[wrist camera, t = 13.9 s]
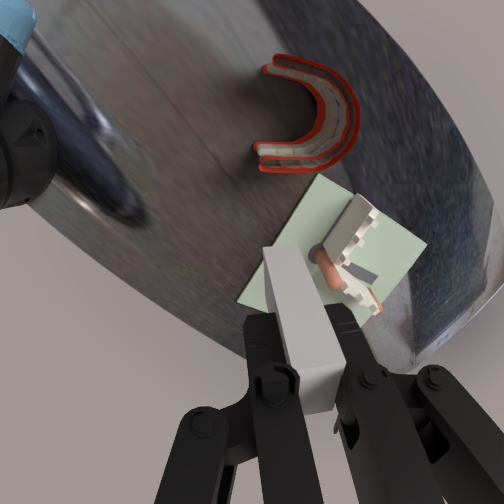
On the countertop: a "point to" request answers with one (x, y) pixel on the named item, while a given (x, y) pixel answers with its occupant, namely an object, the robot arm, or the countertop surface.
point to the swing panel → (359, 291)
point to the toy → (294, 153)
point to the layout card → (363, 259)
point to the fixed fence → (345, 239)
